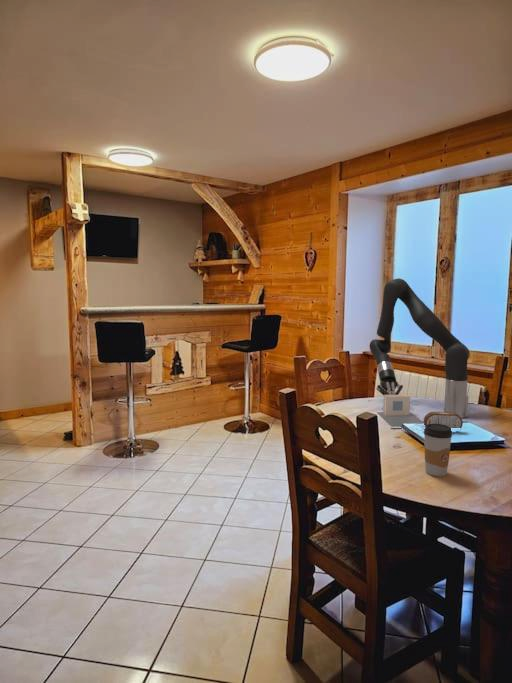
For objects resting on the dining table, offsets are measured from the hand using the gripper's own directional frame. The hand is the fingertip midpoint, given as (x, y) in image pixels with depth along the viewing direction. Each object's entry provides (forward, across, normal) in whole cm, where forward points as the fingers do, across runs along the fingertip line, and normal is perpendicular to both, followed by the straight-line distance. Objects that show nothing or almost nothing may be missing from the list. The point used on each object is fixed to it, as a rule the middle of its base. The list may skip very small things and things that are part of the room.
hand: (393, 403), depth 208 cm
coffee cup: (+52, -8, -44) cm, 68 cm away
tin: (+23, +12, -15) cm, 30 cm away
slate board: (+12, 0, -4) cm, 13 cm away
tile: (+6, 0, 0) cm, 6 cm away
